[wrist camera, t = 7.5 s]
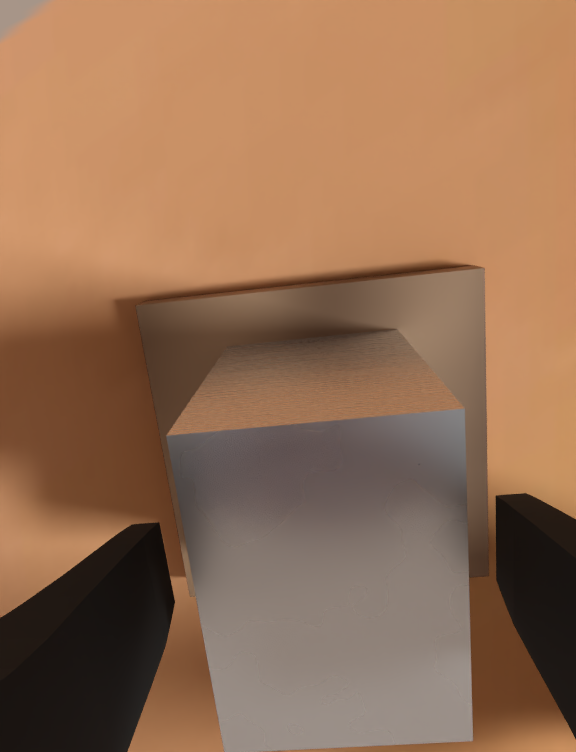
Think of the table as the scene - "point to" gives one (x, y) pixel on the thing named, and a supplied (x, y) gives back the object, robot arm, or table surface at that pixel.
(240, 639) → the brushed steel brick
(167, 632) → the robot arm
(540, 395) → the table surface
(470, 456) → the thin tan panel
